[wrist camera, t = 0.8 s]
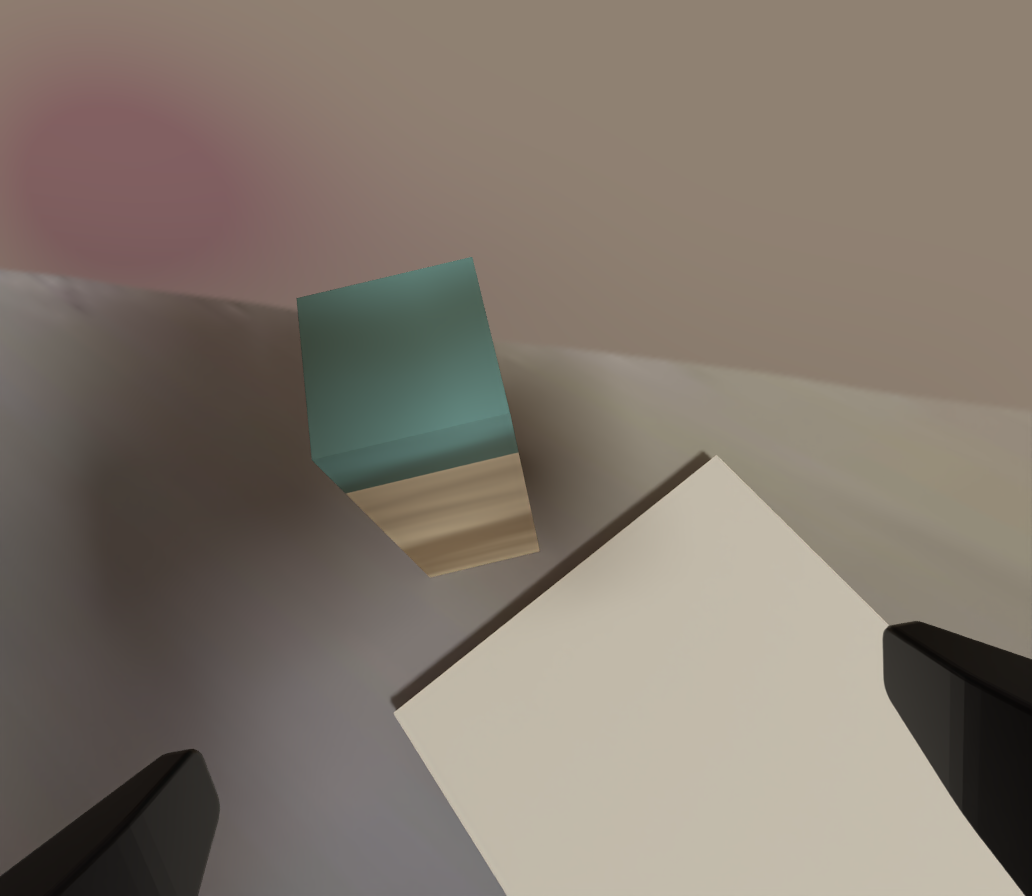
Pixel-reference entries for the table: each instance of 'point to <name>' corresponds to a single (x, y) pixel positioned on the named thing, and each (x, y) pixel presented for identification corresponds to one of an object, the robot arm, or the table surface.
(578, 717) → the cream square tile
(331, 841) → the table surface
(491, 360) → the birch block
